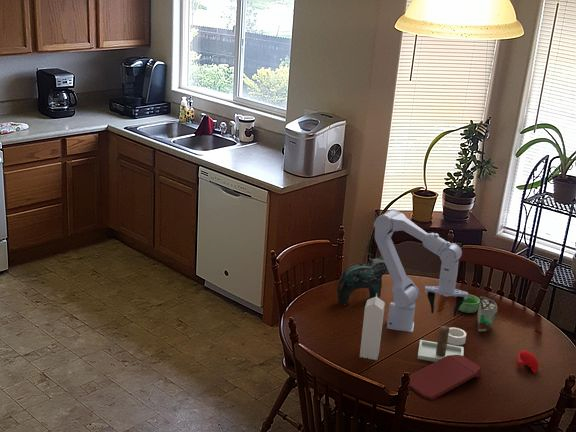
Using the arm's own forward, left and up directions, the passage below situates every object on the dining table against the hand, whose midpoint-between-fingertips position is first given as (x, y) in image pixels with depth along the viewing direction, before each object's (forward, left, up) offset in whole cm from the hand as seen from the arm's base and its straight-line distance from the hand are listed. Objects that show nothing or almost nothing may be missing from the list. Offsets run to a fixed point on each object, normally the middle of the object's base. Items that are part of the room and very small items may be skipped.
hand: (443, 313), depth 249 cm
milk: (-23, -19, -11) cm, 31 cm away
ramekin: (+9, +29, -11) cm, 32 cm away
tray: (+1, -11, -10) cm, 15 cm away
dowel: (+1, -11, -10) cm, 15 cm away
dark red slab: (+2, -27, -11) cm, 29 cm away
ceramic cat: (-32, +20, -11) cm, 39 cm away
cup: (+5, +1, -10) cm, 12 cm away
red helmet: (+29, -10, -11) cm, 33 cm away
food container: (+16, +15, -11) cm, 25 cm away
